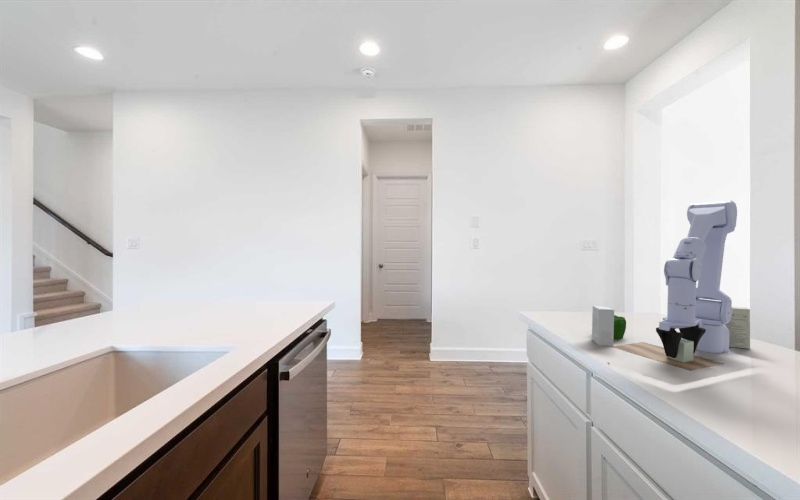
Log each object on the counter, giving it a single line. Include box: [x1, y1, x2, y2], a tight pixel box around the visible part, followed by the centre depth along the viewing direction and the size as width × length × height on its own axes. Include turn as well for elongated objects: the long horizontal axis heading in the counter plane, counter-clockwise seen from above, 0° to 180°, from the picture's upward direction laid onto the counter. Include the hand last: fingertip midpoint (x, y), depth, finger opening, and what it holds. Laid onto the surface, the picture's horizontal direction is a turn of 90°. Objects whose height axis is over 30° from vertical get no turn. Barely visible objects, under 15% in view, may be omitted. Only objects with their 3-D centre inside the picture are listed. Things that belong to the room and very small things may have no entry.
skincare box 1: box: [591, 305, 615, 347], centre depth 104 cm, size 6×4×12 cm
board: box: [611, 341, 724, 371], centre depth 93 cm, size 14×20×1 cm
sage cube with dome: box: [667, 338, 694, 362], centre depth 89 cm, size 4×4×5 cm
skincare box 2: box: [724, 306, 751, 350], centre depth 105 cm, size 6×4×12 cm
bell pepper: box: [614, 314, 627, 340], centre depth 111 cm, size 8×8×10 cm
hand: (680, 355), depth 89 cm, fingers open, 7 cm apart
